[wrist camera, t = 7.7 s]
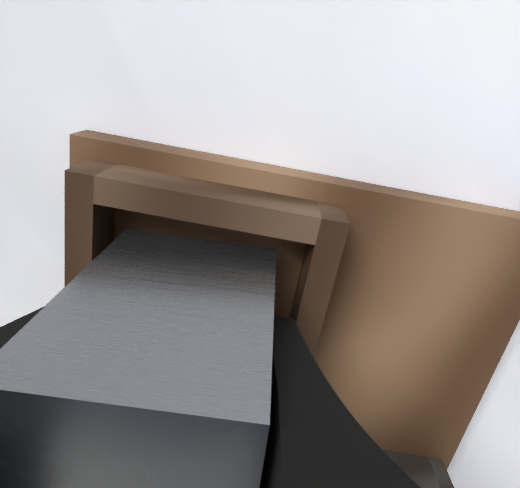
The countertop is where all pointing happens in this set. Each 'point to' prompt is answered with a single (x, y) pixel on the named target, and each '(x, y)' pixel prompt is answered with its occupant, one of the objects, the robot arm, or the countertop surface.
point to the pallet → (333, 275)
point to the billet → (145, 371)
